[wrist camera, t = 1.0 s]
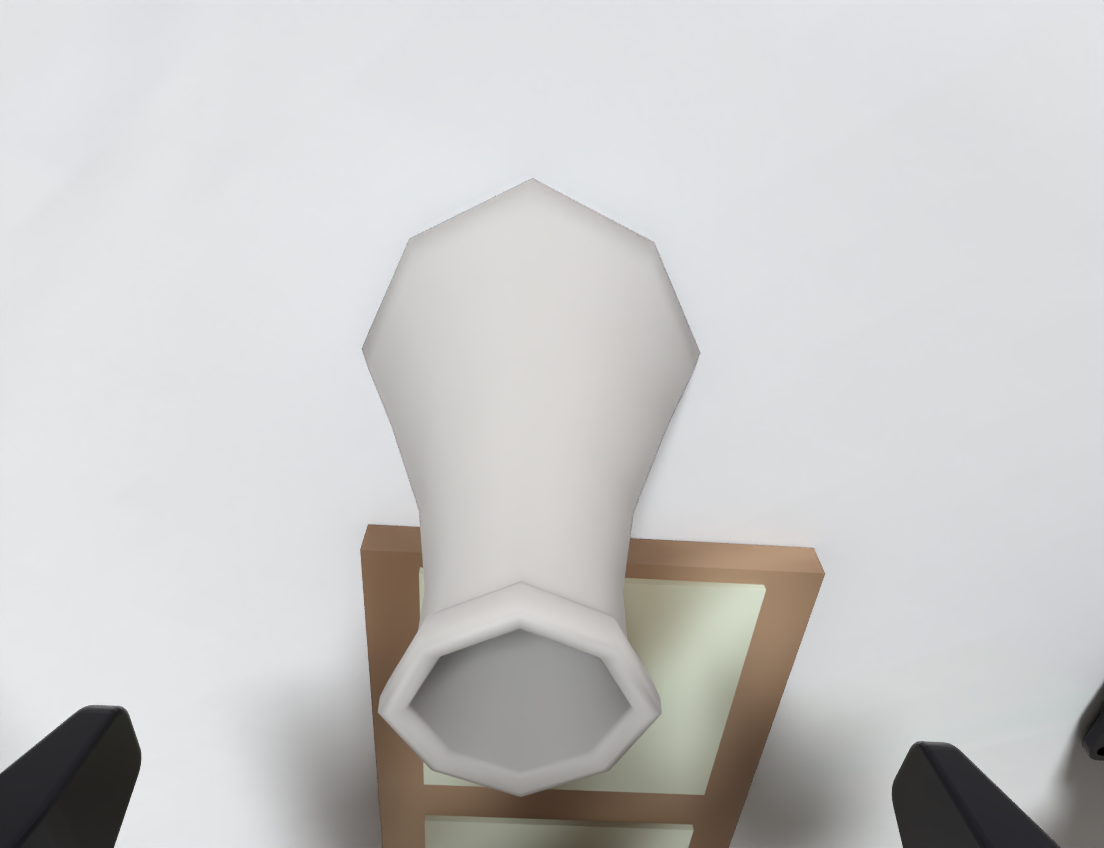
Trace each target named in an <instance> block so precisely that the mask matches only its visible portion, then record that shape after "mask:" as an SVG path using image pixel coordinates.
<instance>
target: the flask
mask: <svg viewBox="0 0 1104 848" xmlns="http://www.w3.org/2000/svg"><path fill="white" fill-rule="evenodd" d="M362 351H363V354H364V357H365V360H366V363H367V366H368V369H369V372H370V374H371V377H372V379H373V381H374V384H375V386H376V389H377V391H378V394H379V396H380V399H381V401H382V404H383V406H384V409H385V411H386V414H387V416H388V419H389V421H390V424H391V426H392V429H393V432H394V435H395V439H396V442H397V445H398V448H399V451H400V454H401V457H402V460H403V463H404V466H405V469H406V472H407V475H408V479H409V482H410V485H411V488H412V491H413V494H414V497H415V500H416V503H417V506H418V509H419V517H420V531H421V545H422V559H423V573H424V587H425V591H424V597H423V604H422V610H421V616H420V622H419V628H418V632H417V634H416V636H415V637H414V639H413V640H412V642H411V644H410V645H409V647H408V649H407V650H406V652H405V654H404V655H403V657H402V659H401V660H400V662H399V664H398V665H397V667H396V668H395V670H394V672H393V673H392V675H391V677H390V678H389V680H388V682H387V684H386V686H385V688H384V690H383V692H382V694H381V696H380V699H379V706H378V713H379V714H380V715H381V717H382V718H383V719H384V720H385V721H386V722H387V723H388V724H389V725H390V726H391V727H392V728H393V729H394V731H395V732H396V733H397V734H398V735H399V736H400V737H401V738H402V739H403V740H404V741H405V742H406V744H407V745H408V746H409V747H410V748H411V749H412V750H413V751H414V752H415V753H416V754H417V755H418V757H419V758H420V759H421V760H422V761H423V762H424V763H425V764H426V765H427V766H428V767H429V768H430V769H431V770H432V771H435V772H438V773H442V774H445V775H448V776H452V777H455V778H458V779H462V780H465V781H469V782H472V783H475V784H479V785H482V786H485V787H489V788H492V789H495V790H499V791H502V792H505V793H509V794H512V795H515V796H519V797H522V796H526V795H529V794H533V793H536V792H539V791H543V790H546V789H550V788H553V787H556V786H560V785H563V784H567V783H570V782H573V781H577V780H580V779H584V778H587V777H591V776H594V775H597V774H601V773H604V772H608V771H610V770H611V768H612V767H613V766H614V765H615V764H616V763H617V762H618V761H619V760H620V759H621V758H622V756H623V755H624V754H625V753H626V752H627V751H628V750H629V749H630V748H631V747H632V746H633V744H634V743H635V742H636V741H637V740H638V739H639V738H640V737H641V736H642V735H643V734H644V732H645V731H646V730H647V729H648V728H649V727H650V726H651V725H652V724H653V723H654V721H655V720H656V719H657V718H658V717H659V716H660V715H661V714H662V711H661V699H660V696H659V694H658V691H657V689H656V687H655V685H654V682H653V681H652V679H651V677H650V676H649V674H648V672H647V671H646V669H645V668H644V666H643V664H642V663H641V661H640V659H639V658H638V656H637V654H636V653H635V651H634V649H633V648H632V646H631V645H630V643H629V641H628V639H627V629H626V619H625V608H624V598H623V587H624V579H625V572H626V564H627V557H628V549H629V542H630V535H631V527H632V520H633V513H634V510H635V508H636V505H637V502H638V500H639V497H640V495H641V492H642V490H643V487H644V484H645V482H646V479H647V477H648V474H649V472H650V469H651V466H652V464H653V461H654V459H655V456H656V454H657V451H658V448H659V446H660V443H661V441H662V438H663V436H664V433H665V430H666V428H667V426H668V424H669V422H670V419H671V417H672V415H673V413H674V411H675V409H676V407H677V405H678V402H679V400H680V398H681V396H682V394H683V392H684V390H685V387H686V385H687V383H688V381H689V379H690V377H691V375H692V373H693V370H694V367H695V365H696V362H697V360H698V357H699V355H700V351H699V348H698V346H697V344H696V341H695V339H694V336H693V334H692V332H691V329H690V327H689V324H688V322H687V320H686V317H685V315H684V312H683V310H682V308H681V305H680V303H679V301H678V298H677V296H676V293H675V291H674V289H673V286H672V284H671V281H670V279H669V277H668V274H667V272H666V269H665V267H664V265H663V262H662V260H661V257H660V255H659V253H658V250H657V248H656V245H655V243H654V242H653V241H651V240H649V239H647V238H645V237H643V236H641V235H639V234H637V233H636V232H634V231H632V230H630V229H628V228H626V227H624V226H622V225H620V224H618V223H617V222H615V221H613V220H611V219H609V218H607V217H605V216H603V215H601V214H600V213H598V212H596V211H594V210H592V209H590V208H588V207H586V206H584V205H582V204H581V203H579V202H577V201H575V200H573V199H571V198H569V197H567V196H565V195H563V194H562V193H560V192H558V191H556V190H554V189H552V188H550V187H548V186H546V185H544V184H543V183H541V182H539V181H537V180H535V179H533V178H532V179H530V180H528V181H526V182H524V183H521V184H519V185H517V186H515V187H513V188H511V189H509V190H507V191H505V192H503V193H501V194H499V195H497V196H495V197H493V198H491V199H489V200H487V201H485V202H483V203H481V204H479V205H477V206H475V207H473V208H471V209H469V210H467V211H465V212H463V213H461V214H458V215H456V216H454V217H452V218H450V219H448V220H446V221H444V222H442V223H440V224H438V225H436V226H434V227H432V228H430V229H428V230H426V231H424V232H422V233H420V234H418V235H416V236H414V237H412V238H410V239H409V241H408V243H407V245H406V248H405V250H404V252H403V254H402V257H401V259H400V261H399V264H398V266H397V268H396V271H395V273H394V275H393V277H392V280H391V282H390V284H389V287H388V289H387V291H386V294H385V296H384V298H383V301H382V303H381V305H380V307H379V310H378V312H377V314H376V317H375V319H374V321H373V324H372V326H371V328H370V330H369V333H368V335H367V337H366V340H365V342H364V344H363V347H362Z"/></svg>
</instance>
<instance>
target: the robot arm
mask: <svg viewBox="0 0 1104 848" xmlns="http://www.w3.org/2000/svg"><path fill="white" fill-rule="evenodd" d="M1082 746H1083V748H1084V749H1085V750H1086V752H1087V753H1088V755H1089V756H1090V757H1091V758H1092V759H1094V760H1103V761H1104V710H1103V711H1102V713H1101V714H1100V715H1099V717H1098V718H1097V720H1096V721H1095V723H1094V724H1093V726H1092V727H1091V728H1090V730H1089V731H1088V733H1087V734H1086V736H1085V737H1084V738H1083V740H1082ZM140 766H141V750H140V746H139V743H138V740H137V737H136V734H135V731H134V728H133V725H132V722H131V719H130V716H129V714H128V712H127V710H126V709H124V708H123V707H121V706H106V705H90V706H86V707H84V708H82V709H80V710H78V711H77V712H76V713H74V714H73V715H72V716H71V717H69V718H68V719H67V720H66V721H64V722H63V723H62V724H61V725H60V726H58V727H57V728H56V729H55V730H53V731H52V732H51V733H50V734H48V735H47V736H46V737H45V738H44V739H42V740H41V741H40V742H39V743H37V744H36V745H35V746H34V747H32V748H31V749H30V750H29V751H28V752H26V753H25V754H24V755H23V756H21V757H20V758H19V759H18V760H16V761H15V762H14V763H13V764H12V765H10V766H9V767H8V768H7V769H5V770H4V771H3V772H2V773H0V848H114V846H115V843H116V840H117V837H118V834H119V831H120V828H121V825H122V822H123V819H124V816H125V813H126V810H127V807H128V804H129V801H130V798H131V795H132V792H133V789H134V786H135V783H136V780H137V777H138V774H139V771H140ZM892 801H893V807H894V811H895V815H896V819H897V824H898V828H899V832H900V837H901V841H902V845H903V848H1061V847H1060V846H1058V845H1057V844H1056V843H1055V842H1054V841H1053V840H1052V839H1051V838H1050V837H1049V836H1048V835H1047V834H1046V833H1045V832H1044V831H1043V830H1042V829H1041V828H1040V827H1039V826H1038V825H1037V824H1036V823H1035V822H1034V821H1033V820H1032V819H1031V818H1030V817H1028V816H1027V815H1026V814H1025V813H1024V812H1023V811H1022V810H1021V809H1020V808H1019V807H1018V806H1017V805H1016V804H1015V803H1014V802H1013V801H1012V800H1011V799H1010V798H1009V797H1008V796H1007V795H1006V794H1005V793H1004V792H1003V791H1002V790H1001V789H1000V788H999V787H997V786H996V785H995V784H994V783H993V782H992V781H991V780H990V779H989V778H988V777H987V776H986V775H985V774H984V773H983V772H982V771H981V770H980V769H979V768H978V767H977V766H976V765H975V764H974V763H973V762H972V761H971V760H970V759H969V758H967V757H966V756H965V755H964V754H963V753H962V752H961V751H960V750H959V749H958V748H956V747H955V746H953V745H951V744H949V743H945V742H925V741H919V742H916V743H915V744H913V745H912V746H911V748H910V750H909V752H908V754H907V756H906V758H905V760H904V761H903V763H902V765H901V767H900V769H899V771H898V773H897V775H896V777H895V779H894V782H893V786H892Z"/></svg>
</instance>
